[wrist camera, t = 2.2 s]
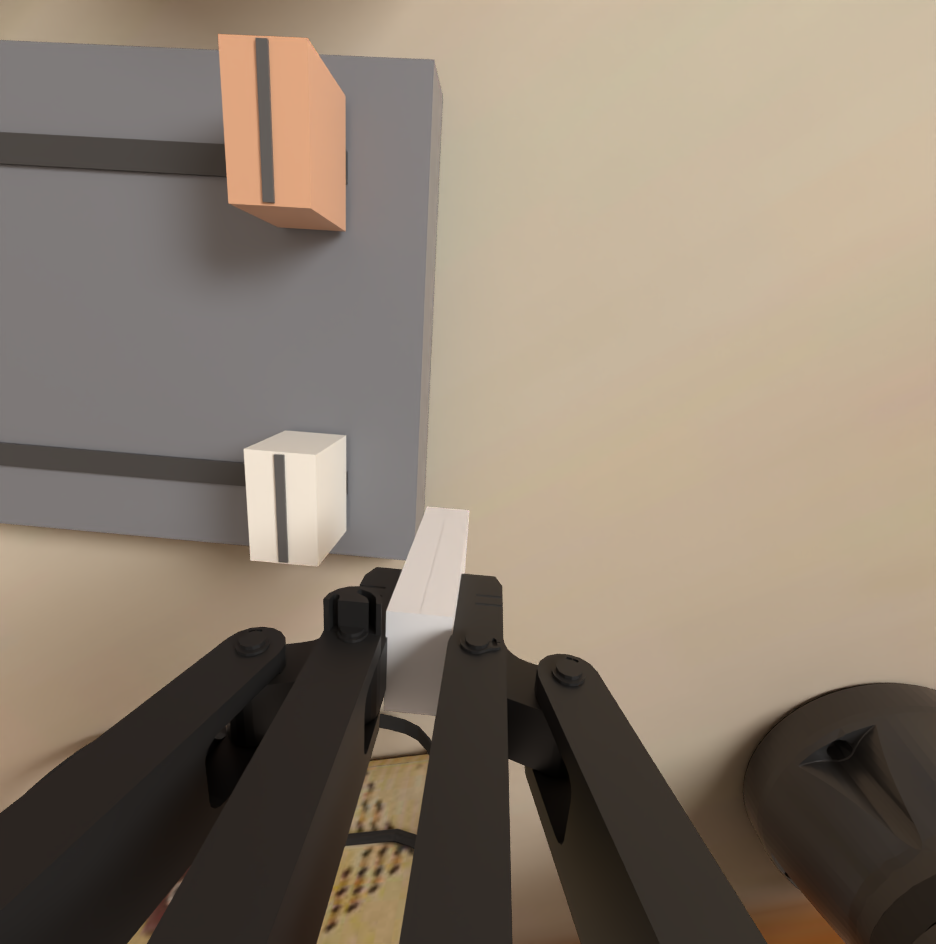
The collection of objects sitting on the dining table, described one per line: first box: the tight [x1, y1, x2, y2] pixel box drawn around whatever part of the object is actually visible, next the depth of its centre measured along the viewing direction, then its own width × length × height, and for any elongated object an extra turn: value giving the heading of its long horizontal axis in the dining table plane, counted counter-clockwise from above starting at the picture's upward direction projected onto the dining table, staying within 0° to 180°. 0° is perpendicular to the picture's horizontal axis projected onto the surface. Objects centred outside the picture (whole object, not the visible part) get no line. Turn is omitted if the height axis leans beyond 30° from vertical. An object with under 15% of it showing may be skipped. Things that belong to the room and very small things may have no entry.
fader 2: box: [244, 430, 346, 567], centre depth 22 cm, size 5×3×4 cm, turn 176°
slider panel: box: [0, 40, 443, 560], centre depth 24 cm, size 22×26×3 cm
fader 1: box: [218, 34, 346, 232], centre depth 18 cm, size 5×3×4 cm, turn 176°
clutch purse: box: [25, 714, 432, 944], centre depth 26 cm, size 30×7×15 cm, turn 102°
